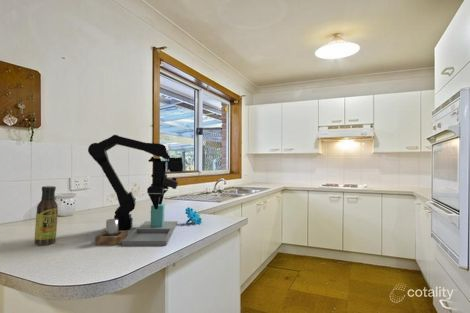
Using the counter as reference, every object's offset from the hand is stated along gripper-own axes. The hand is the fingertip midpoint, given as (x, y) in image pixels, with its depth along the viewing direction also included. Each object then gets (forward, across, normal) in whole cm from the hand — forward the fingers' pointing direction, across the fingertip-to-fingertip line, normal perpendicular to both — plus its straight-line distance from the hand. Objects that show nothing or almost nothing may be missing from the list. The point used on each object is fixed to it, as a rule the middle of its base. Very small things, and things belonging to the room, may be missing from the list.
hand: (158, 207), depth 123 cm
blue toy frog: (+9, +9, -15) cm, 20 cm away
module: (+8, 0, 0) cm, 8 cm away
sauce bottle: (+9, -23, +34) cm, 42 cm away
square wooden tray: (+9, -22, +12) cm, 27 cm away
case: (+9, -10, 0) cm, 13 cm away
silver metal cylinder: (+9, -22, +12) cm, 27 cm away
